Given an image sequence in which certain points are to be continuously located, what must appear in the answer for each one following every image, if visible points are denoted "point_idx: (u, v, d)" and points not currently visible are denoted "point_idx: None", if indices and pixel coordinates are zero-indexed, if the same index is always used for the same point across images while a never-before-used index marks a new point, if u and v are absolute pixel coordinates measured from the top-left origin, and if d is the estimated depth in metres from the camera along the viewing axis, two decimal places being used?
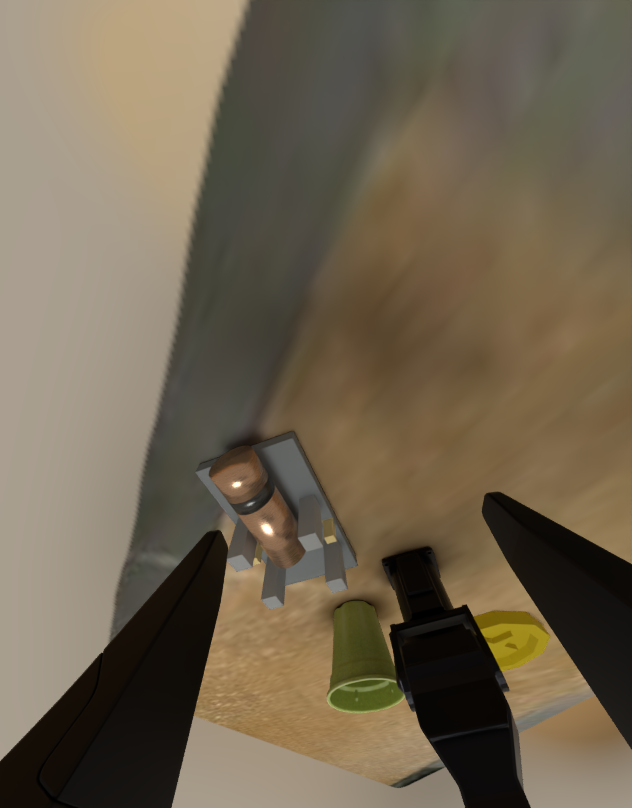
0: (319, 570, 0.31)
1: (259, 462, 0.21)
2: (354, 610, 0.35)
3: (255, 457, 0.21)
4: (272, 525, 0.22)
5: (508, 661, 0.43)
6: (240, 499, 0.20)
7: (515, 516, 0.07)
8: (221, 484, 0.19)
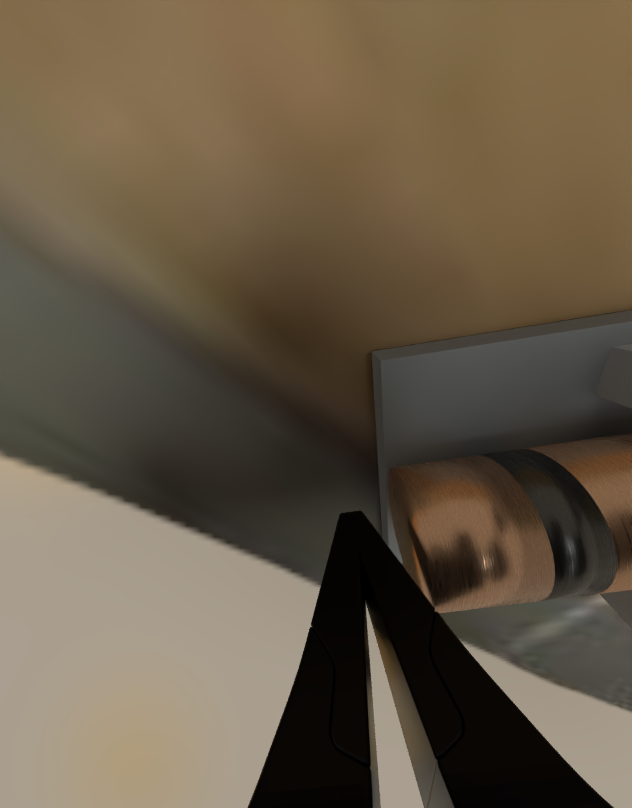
0: None
1: (442, 473, 0.07)
2: None
3: (421, 480, 0.07)
4: None
5: None
6: (536, 590, 0.06)
7: (356, 538, 0.07)
8: (452, 611, 0.06)
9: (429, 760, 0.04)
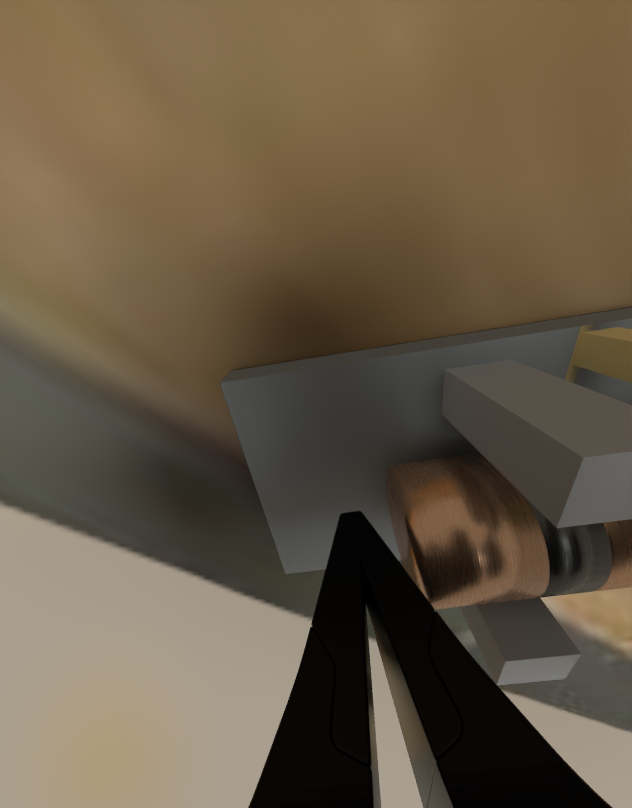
0: None
1: (439, 471, 0.07)
2: None
3: (417, 479, 0.07)
4: None
5: None
6: (531, 587, 0.06)
7: (355, 538, 0.07)
8: (447, 607, 0.07)
9: (428, 760, 0.04)
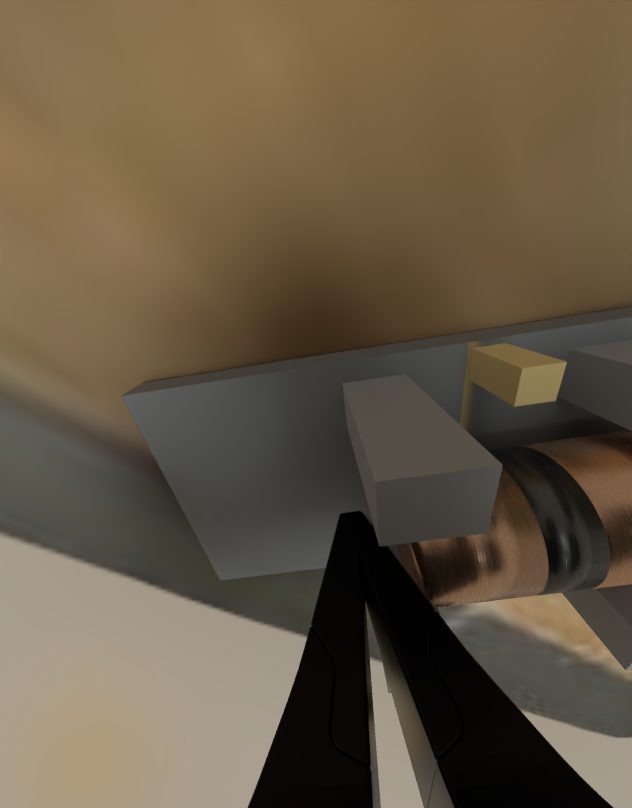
0: None
1: None
2: None
3: None
4: None
5: None
6: (530, 585, 0.06)
7: (356, 538, 0.07)
8: (447, 604, 0.07)
9: (429, 760, 0.04)
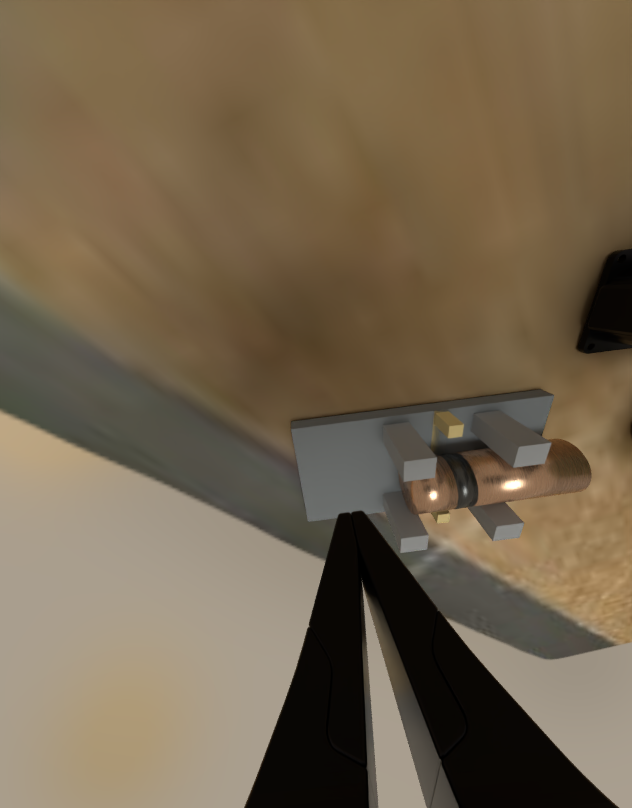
0: None
1: None
2: None
3: None
4: (509, 482, 0.17)
5: None
6: (452, 502, 0.17)
7: (358, 537, 0.07)
8: (424, 511, 0.18)
9: (432, 760, 0.04)
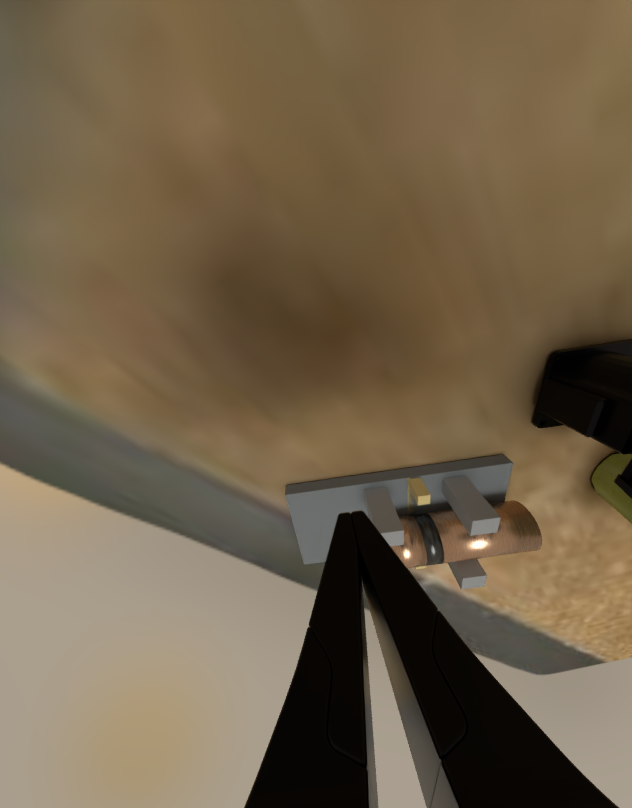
0: None
1: None
2: (608, 478, 0.23)
3: None
4: (471, 549, 0.20)
5: None
6: (422, 564, 0.21)
7: (358, 537, 0.07)
8: None
9: (432, 760, 0.04)
